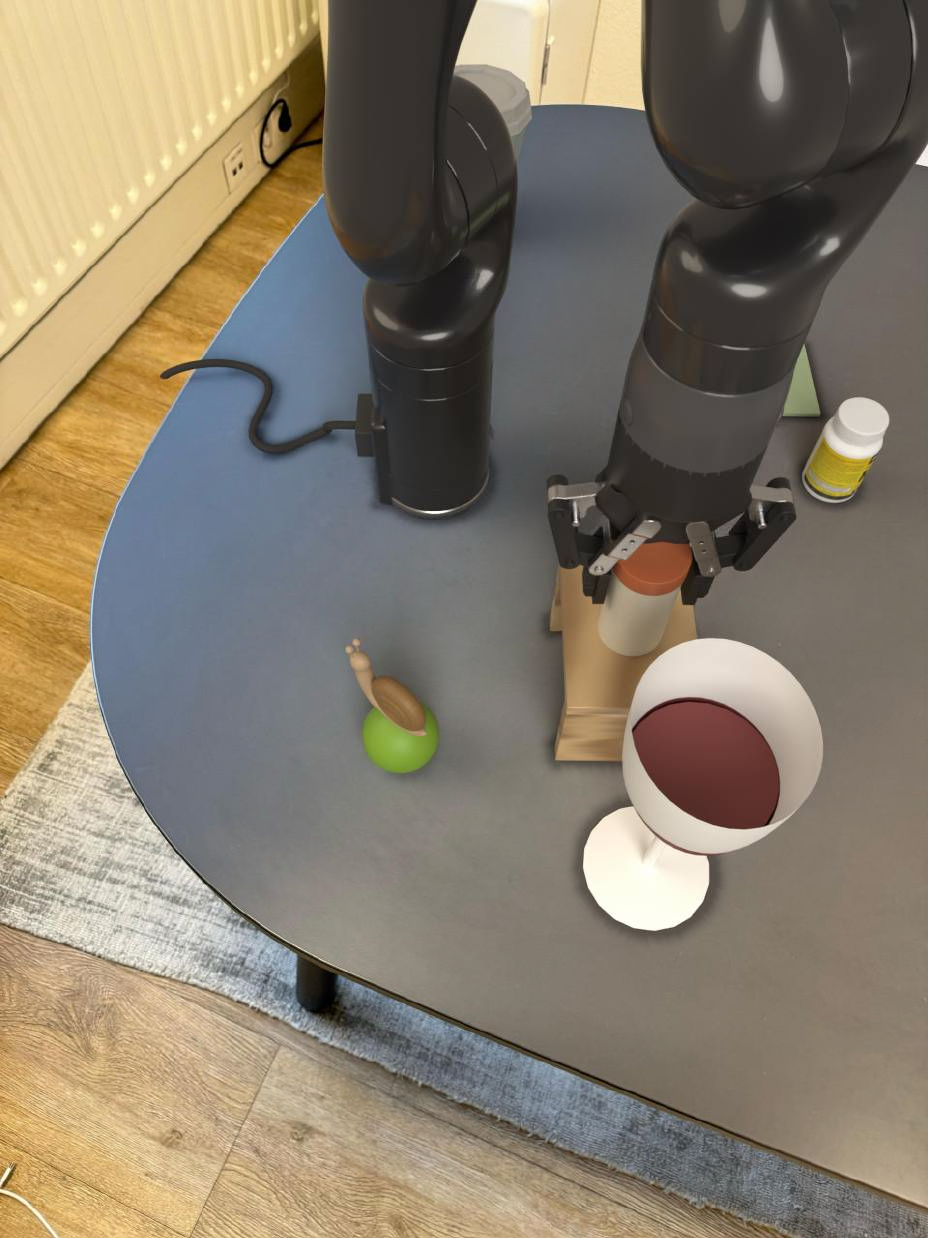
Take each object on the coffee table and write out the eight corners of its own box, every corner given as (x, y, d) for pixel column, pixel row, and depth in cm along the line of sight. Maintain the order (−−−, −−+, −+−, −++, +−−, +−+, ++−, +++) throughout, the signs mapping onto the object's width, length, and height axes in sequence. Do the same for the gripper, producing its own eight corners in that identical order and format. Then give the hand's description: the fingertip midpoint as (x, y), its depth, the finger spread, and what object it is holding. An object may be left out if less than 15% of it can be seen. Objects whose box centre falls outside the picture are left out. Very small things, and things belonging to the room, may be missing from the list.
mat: (719, 415, 87) (720, 412, 87) (708, 343, 92) (709, 340, 91) (819, 416, 87) (820, 413, 87) (802, 344, 92) (804, 341, 91)
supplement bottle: (856, 508, 82) (895, 443, 75) (800, 499, 82) (833, 433, 75) (856, 465, 84) (894, 397, 77) (801, 456, 85) (833, 388, 78)
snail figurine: (389, 694, 73) (377, 612, 63) (454, 744, 71) (454, 669, 61) (339, 746, 71) (319, 670, 60) (406, 799, 69) (396, 730, 58)
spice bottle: (597, 657, 64) (617, 583, 57) (594, 598, 67) (612, 519, 59) (667, 658, 64) (696, 584, 57) (660, 599, 67) (688, 520, 59)
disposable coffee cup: (408, 204, 102) (401, 60, 89) (505, 185, 104) (512, 42, 91) (437, 269, 97) (434, 127, 84) (538, 248, 99) (551, 106, 86)
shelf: (554, 760, 70) (567, 707, 63) (549, 618, 76) (560, 553, 69) (678, 762, 70) (706, 709, 63) (663, 620, 76) (687, 555, 69)
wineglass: (700, 794, 69) (798, 635, 49) (724, 938, 64) (844, 826, 44) (573, 798, 69) (619, 640, 49) (586, 943, 64) (645, 832, 44)
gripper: (832, 353, 49) (745, 546, 64) (548, 349, 49) (527, 542, 64) (861, 470, 45) (762, 646, 60) (553, 466, 45) (529, 642, 60)
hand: (641, 592), depth 62 cm, fingers open, 5 cm apart
